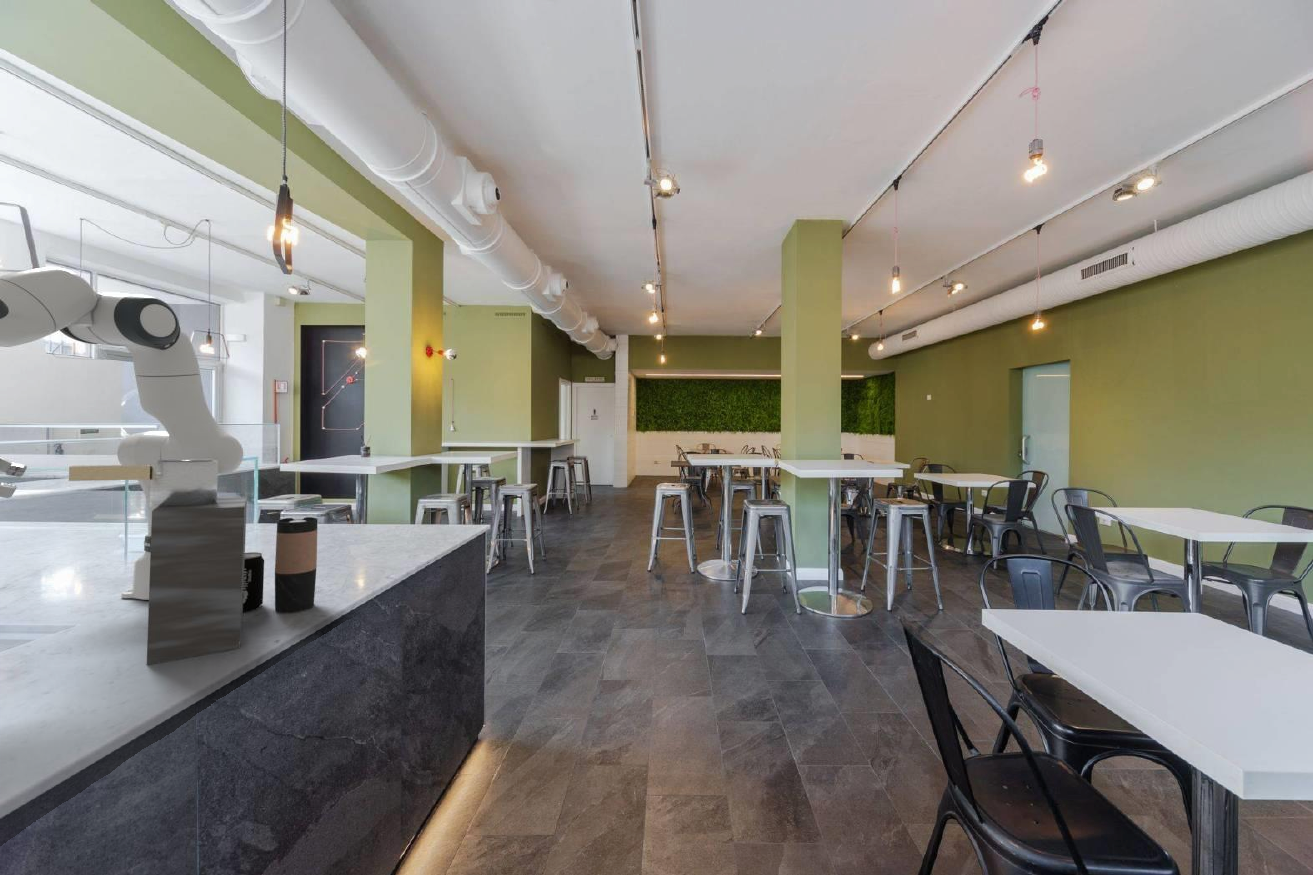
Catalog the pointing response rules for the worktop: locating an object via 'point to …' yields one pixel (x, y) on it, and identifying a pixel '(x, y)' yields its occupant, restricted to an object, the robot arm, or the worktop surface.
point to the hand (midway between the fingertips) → (19, 481)
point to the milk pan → (162, 480)
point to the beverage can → (253, 581)
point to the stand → (196, 580)
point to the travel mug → (295, 564)
